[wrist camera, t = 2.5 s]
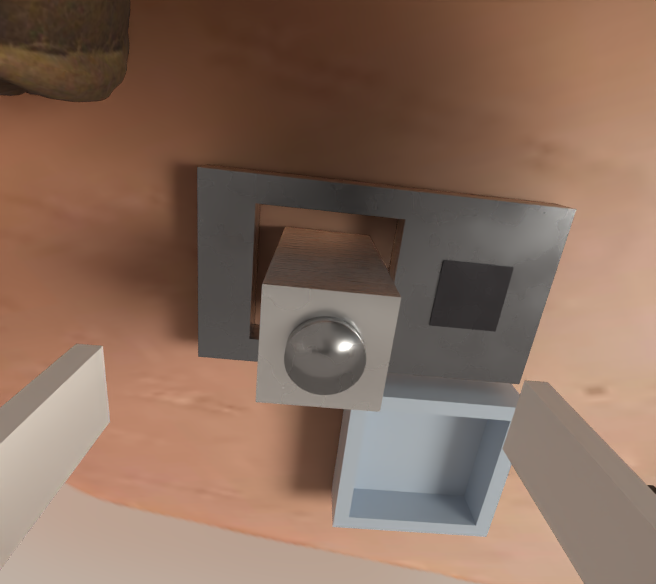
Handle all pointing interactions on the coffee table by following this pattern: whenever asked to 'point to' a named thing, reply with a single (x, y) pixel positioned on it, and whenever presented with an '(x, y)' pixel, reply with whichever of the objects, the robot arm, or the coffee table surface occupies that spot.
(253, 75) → the coffee table surface
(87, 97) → the sculpture
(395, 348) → the grey slotted plate
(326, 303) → the knob block
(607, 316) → the coffee table surface
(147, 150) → the coffee table surface
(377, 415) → the tray
